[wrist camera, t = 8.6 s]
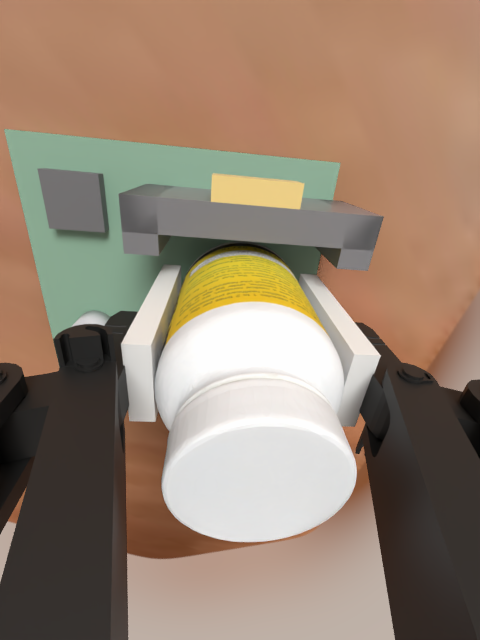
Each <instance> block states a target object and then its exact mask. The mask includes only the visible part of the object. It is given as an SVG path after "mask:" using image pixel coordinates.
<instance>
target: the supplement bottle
mask: <svg viewBox="0 0 480 640" xmlns="http://www.w3.org/2000/svg"><path fill="white" fill-rule="evenodd" d="M154 390H155V400H156V404H157V408H158V411H159V414H160V416H161V418H162V420H163V422H164V424H165V426H166V427H167V429H168V430H169V431H170V432H169V436H168V441H167V451H166V456H165V462H164V468H163V474H162V486H161V487H162V494H163V497H164V501H165V503H166V505H167V507H168V509H169V510H170V511H171V513H172V514H173V515H174V517H175V518H177V519H178V520H179V521H180V522H181V523H182V524H184V525H186V526H187V527H189V528H190V529H192V530H194V531H196V532H198V533H201V534H203V535H206V536H209V537H213V538H216V539H221V540H227V541H233V542H263V541H271V540H277V539H282V538H286V537H290V536H293V535H297V534H299V533H302V532H305V531H307V530H310V529H312V528H314V527H316V526H318V525H320V524H321V523H323V522H325V521H326V520H328V519H329V518H330V517H332V516H333V515H334V514H335V513H336V512H337V511H339V510H340V509H341V507H342V506H343V505H344V504H345V503H346V501H347V500H348V499H349V497H350V495H351V493H352V491H353V488H354V486H355V483H356V476H357V469H356V462H355V458H354V456H353V453H352V450H351V448H350V445H349V443H348V441H347V439H346V436H345V434H344V431H343V429H342V426H341V424H340V422H339V419H338V417H337V413H338V410H339V408H340V405H341V402H342V397H343V392H344V373H343V367H342V364H341V361H340V358H339V355H338V353H337V351H336V349H335V347H334V345H333V343H332V341H331V339H330V337H329V335H328V334H327V332H326V330H325V329H324V327H323V325H322V323H321V322H320V320H319V318H318V316H317V314H316V313H315V311H314V309H313V307H312V305H311V304H310V302H309V300H308V299H307V297H306V295H305V293H304V292H303V290H302V288H301V286H300V285H299V283H298V281H297V279H296V278H295V276H294V274H293V273H292V271H291V269H290V268H289V267H288V265H287V264H286V263H285V261H284V260H283V259H282V258H281V257H280V256H279V255H277V254H276V253H275V252H274V251H272V250H271V249H269V248H267V247H265V246H262V245H260V244H256V243H252V242H246V241H234V242H228V243H224V244H220V245H218V246H216V247H213V248H211V249H209V250H208V251H206V252H205V253H203V254H202V255H201V256H200V257H199V258H198V259H196V261H195V262H194V263H193V264H192V265H191V267H190V268H189V270H188V272H187V274H186V276H185V278H184V281H183V283H182V287H181V289H180V293H179V296H178V299H177V303H176V306H175V309H174V313H173V316H172V319H171V323H170V326H169V329H168V332H167V335H166V338H165V342H164V344H163V347H162V351H161V354H160V358H159V363H158V367H157V371H156V376H155V388H154Z"/></svg>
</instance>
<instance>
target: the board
mask: <svg viewBox="0 0 480 640" xmlns="http://www.w3.org/2000/svg"><path fill="white" fill-rule="evenodd" d="M4 131H5V135H6V139H7V144H8V148H9V152H10V156H11V161H12V165H13V169H14V174H15V178H16V182H17V186H18V191H19V195H20V199H21V204H22V208H23V212H24V217H25V221H26V225H27V229H28V234H29V238H30V242H31V247H32V251H33V255H34V259H35V264H36V268H37V272H38V277H39V281H40V285H41V290H42V294H43V298H44V302H45V307H46V311H47V315H48V320H49V324H50V328H51V332H52V337H53V339H54V338H55V336H56V335H57V334H58V333H60V332H61V331H63V330H65V329H67V328H70V327H73V326H76V325H83V324H99V325H103V326H105V324H106V322H107V321H108V319H109V318H110V317H111V316H113V315H114V314H116V313H118V312H119V311H136V312H138V311H139V310H140V308H141V306H142V304H143V302H144V300H145V298H146V297H147V295H148V293H149V291H150V289H151V287H152V285H153V284H154V282H155V280H156V278H157V276H158V274H159V272H160V271H161V269H162V267H163V265H164V264H167V265H181V287H182V283H183V281H184V278H185V276H186V274H187V272H188V270H189V268H190V267H191V265H192V264H193V263H194V262H195V261H196V259H198V258H199V257H200V256H201V255H202V254H203V253H205V252H206V251H208V250H209V249H211V248H213V247H216V246H218V245H220V244H224V243H228V242H234V241H236V240H223V239H210V238H197V237H183V236H171V238H170V239H169V241H168V242H167V244H166V246H165V247H164V249H163V250H162V252H161V253H160V255H159V256H151V255H137V254H124V250H123V239H122V228H121V217H120V206H119V195H118V194H119V193H122V192H125V191H128V190H130V189H133V188H136V187H139V186H142V185H145V184H157V185H168V186H179V187H190V188H201V189H211V184H212V174H213V173H217V174H227V175H238V176H248V177H259V178H270V179H280V180H291V181H298V182H301V183H304V190H303V195H302V198H312V199H323V200H333V196H334V191H335V186H336V182H337V177H338V172H339V168H340V163H336V162H326V161H316V160H306V159H296V158H286V157H276V156H266V155H256V154H246V153H237V152H227V151H217V150H207V149H197V148H187V147H177V146H167V145H157V144H147V143H138V142H128V141H118V140H108V139H98V138H88V137H78V136H68V135H58V134H48V133H39V132H29V131H19V130H9V129H4ZM246 242H249V241H246ZM252 243H256V244H260V245H262V246H265V247H267V248H269V249H271V250H272V251H274V252H275V253H276V254H277V255H279V256H280V257H281V258H282V259H283V260H284V261H285V263H286V264H287V265H288V267H289V268H290V269H291V271H292V273H293V274H294V276H295V278H296V279H297V281H298V283H299V278H300V274H315V275H317V270H318V265H319V261H320V256H321V253H320V252H319V251H318V250H317V249H316V248H315V247H314V246H301V245H288V244H275V243H262V242H252ZM55 350H56V349H55ZM56 354H57V353H56ZM59 367H60V366H59Z"/></svg>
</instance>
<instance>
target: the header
mask: <svg viewBox="0 0 480 640" xmlns="http://www.w3.org/2000/svg"><path fill="white" fill-rule="evenodd" d="M303 190H304V183H301V182H298V181H291V180H280V179H270V178H259V177H248V176H238V175H227V174H217V173H213V174H212V184H211V189H201V188H190V187H179V186H168V185H157V184H145V185H142V186H139V187H136V188H133V189H130V190H128V191H125V192H122V193H119V194H118V195H119V206H120V217H121V228H122V239H123V250H124V254H137V255H151V256H159V255H160V253H161V252H162V250H163V249H164V247H165V246H166V244H167V242H168V241H169V239H170V238H171V236H183V237H197V238H210V239H223V240H236V241H249V242H262V243H275V244H288V245H301V246H314V247H315V248H316V249H317V250H318V251H319V252H320V253H321V254H322V255H323V256H324V257H325V258H326V259H328V260H329V261H330V262H331V263H332V264H333V265H334V266H335V267H336V268H337V269H350V270H365V271H368V268H369V265H370V261H371V258H372V255H373V251H374V248H375V244H376V241H377V238H378V234H379V231H380V228H381V224H382V221H383V216H380V215H378V214H375V213H372V212H370V211H367V210H364V209H362V208H359V207H356V206H353V205H351V204H348V203H345V202H343V201H334V200H323V199H312V198H302V195H303Z"/></svg>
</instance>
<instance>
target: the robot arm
mask: <svg viewBox="0 0 480 640" xmlns="http://www.w3.org/2000/svg"><path fill="white" fill-rule="evenodd" d="M299 285H300V286H301V288H302V290H303V292H304V293H305V295H306V297H307V299H308V300H309V302H310V304H311V305H312V307H313V309H314V311H315V313H316V314H317V316H318V318H319V320H320V322H321V323H322V325H323V327H324V329H325V330H326V332H327V334H328V335H329V337H330V339H331V341H332V343H333V345H334V347H335V349H336V351H337V353H338V355H339V358H340V361H341V364H342V367H343V373H344V392H343V397H342V402H341V405H340V408H339V410H338V413H337V417H338V419H339V422H340V424H341V426H354V427H355V425H356V422H357V419H358V417H359V414H360V413H361V415H362V417H363V419H364V420H365V422H366V423H365V426H364V429H363V431H362V434H361V436H360V439H359V442H358V444H357V447H356V453H357V454H359V453H360V451H361V448H362V447H363V446H364V451H365V454H364V455H365V457H366V463H367V469H368V475H369V481H370V488H371V494H372V500H373V506H374V512H375V518H376V524H377V531H378V537H379V543H380V549H381V555H382V561H383V567H384V574H385V579H386V586H387V592H388V598H389V604H390V610H391V616H392V623H393V629H394V635H395V640H480V380H471V381H470V382H469V383H468V384H467V385H466V387H465V389H464V391H463V392H460V391H456V390H452V389H448V388H444V387H440V386H439V384H438V383H437V381H436V380H435V379H434V378H433V376H432V375H431V374H429V373H428V372H426V371H425V370H423V369H421V368H419V367H417V366H414V365H411V364H407V363H401V361H400V360H399V359H398V358H397V357H396V356H395V355H394V353H393V352H392V351H391V350H390V349H389V348H388V347H387V345H385V343H384V342H383V341H382V340H381V339H379V338H380V337H379V336H378V335H377V334H376V333H375V332H374V330H373V329H371V328H369V327H368V326H366V325H365V324H363V323H357V322H354V321H353V320H352V319H351V318H350V316H349V315H348V314H347V313H346V311H345V310H344V309H343V308H342V306H341V305H340V304H339V303H338V301H337V300H336V299H335V297H334V296H333V295H332V294H331V292H330V291H329V290H328V289H327V287H326V286H325V285H324V284H323V282H322V281H321V280H320V279H319V277H318V276H317V275H315V274H300V278H299ZM180 289H181V265H167V264H164V265H163V267H162V269H161V271H160V272H159V274H158V276H157V278H156V280H155V282H154V284H153V285H152V287H151V289H150V291H149V293H148V295H147V297H146V298H145V300H144V302H143V304H142V306H141V308H140V310H139V311H138V312H136V311H119V312H118V313H116V314H114V315H113V316H111V317H110V318H109V319H108V321H107V322H106V324H105V326H103V325H99V324H83V325H76V326H73V327H70V328H67V329H65V330H63V331H61V332H60V333H58V334H57V335H56V336H55V338H54V339H53V341H54V345H55V349H56V353H57V358H58V362H59V366H60V368H59V371H57V372H53V373H48V374H42V375H36V376H29V377H24V374H23V371H22V368H21V367H19V366H18V365H16V364H11V363H0V534H1V532H2V530H3V528H4V526H5V525H6V523H7V521H8V519H9V517H10V516H11V514H12V512H13V510H14V508H15V507H16V505H17V503H18V501H19V499H20V497H21V496H22V494H23V492H24V490H25V488H26V487H27V488H26V492H25V495H24V499H23V503H22V506H21V510H20V513H19V517H18V521H17V524H16V528H15V532H14V536H13V539H12V542H11V546H10V550H9V553H8V557H7V561H6V564H5V568H4V572H3V575H2V579H1V582H0V640H128V603H127V602H128V599H127V598H128V596H127V531H126V466H125V428H124V418H125V415H126V413H127V410H128V412H129V421H142V422H156V418H157V414H158V408H157V404H156V400H155V390H154V388H155V376H156V371H157V367H158V363H159V358H160V354H161V351H162V347H163V344H164V342H165V338H166V335H167V332H168V329H169V326H170V323H171V319H172V316H173V313H174V309H175V306H176V303H177V299H178V296H179V293H180Z"/></svg>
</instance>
